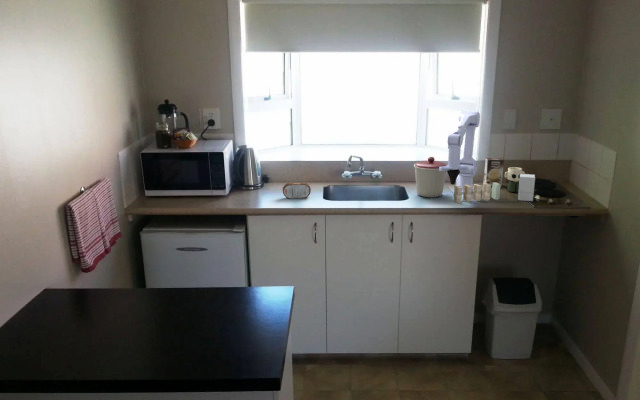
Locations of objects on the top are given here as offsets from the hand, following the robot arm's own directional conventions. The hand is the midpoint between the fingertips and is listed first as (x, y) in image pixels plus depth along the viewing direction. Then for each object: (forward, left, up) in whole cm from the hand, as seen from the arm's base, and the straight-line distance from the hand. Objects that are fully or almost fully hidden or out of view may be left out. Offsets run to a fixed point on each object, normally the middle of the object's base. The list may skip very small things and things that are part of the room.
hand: (452, 184), depth 264 cm
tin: (-31, -75, -10) cm, 81 cm away
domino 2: (0, +9, -10) cm, 13 cm away
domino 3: (0, +14, -10) cm, 17 cm away
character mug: (-9, +42, -10) cm, 44 cm away
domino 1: (0, +3, -10) cm, 10 cm away
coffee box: (-23, +38, -10) cm, 46 cm away
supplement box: (+6, +39, -10) cm, 41 cm away
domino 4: (0, +20, -10) cm, 22 cm away
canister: (-16, -5, -10) cm, 19 cm away
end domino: (0, +25, -10) cm, 27 cm away
